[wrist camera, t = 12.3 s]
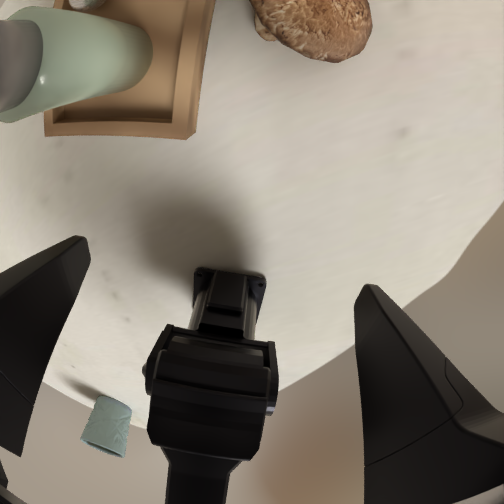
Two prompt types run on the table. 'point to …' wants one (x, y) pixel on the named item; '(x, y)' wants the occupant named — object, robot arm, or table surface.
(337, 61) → the mushroom
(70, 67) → the disc
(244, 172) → the table surface
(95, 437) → the grey-green cup
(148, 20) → the tray
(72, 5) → the ball
